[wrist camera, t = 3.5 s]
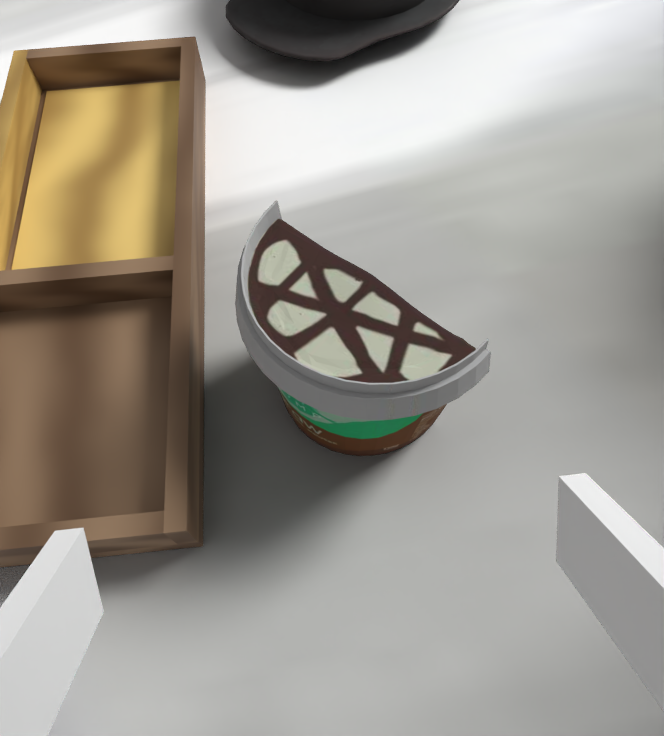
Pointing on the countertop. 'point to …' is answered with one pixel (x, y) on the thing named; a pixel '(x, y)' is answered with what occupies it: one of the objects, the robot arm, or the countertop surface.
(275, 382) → the food container
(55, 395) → the walnut divided tray
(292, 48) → the casserole
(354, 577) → the countertop surface
